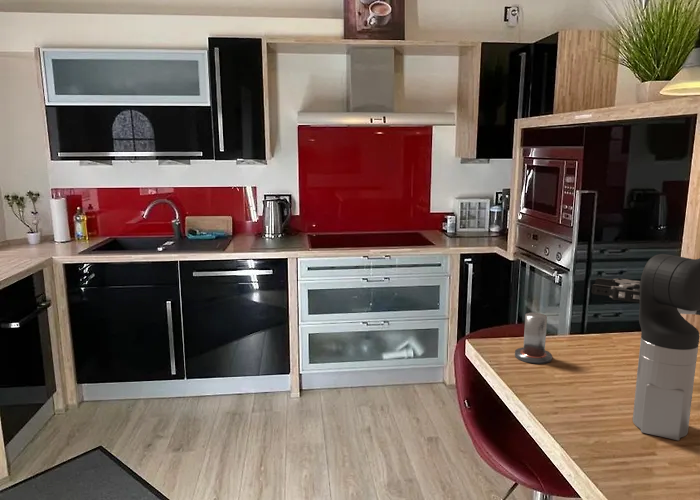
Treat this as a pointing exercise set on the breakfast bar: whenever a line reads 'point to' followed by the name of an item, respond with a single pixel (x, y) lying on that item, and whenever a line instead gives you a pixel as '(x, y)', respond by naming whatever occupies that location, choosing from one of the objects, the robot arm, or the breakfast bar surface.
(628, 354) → the breakfast bar surface
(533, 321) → the grey metal cylinder
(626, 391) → the breakfast bar surface
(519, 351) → the flange pad
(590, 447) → the breakfast bar surface
